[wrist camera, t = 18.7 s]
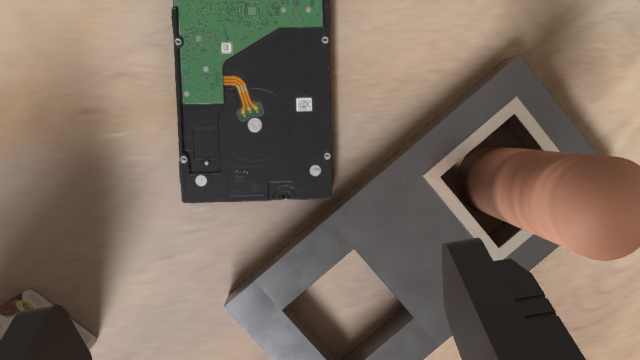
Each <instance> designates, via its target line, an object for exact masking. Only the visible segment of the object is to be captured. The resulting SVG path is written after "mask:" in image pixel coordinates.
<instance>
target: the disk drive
mask: <svg viewBox="0 0 640 360" xmlns="http://www.w3.org/2000/svg"><path fill="white" fill-rule="evenodd" d="M172 26H173V34H174V53H175V55H174V56H175V81H176V97H177V117H178V137H179V158H180V161H179V173H180V183H181V193H182V194H181V195H182V202H184V203H205V202H211V203H212V202H242V201H271V200H282V199H285V198H287V199H299V200H317V199H331V197H332V179H333V176H332V158H331V99H330V44H329V43H330V39H329V26H330V7H329V0H173V7H172Z"/></svg>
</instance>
